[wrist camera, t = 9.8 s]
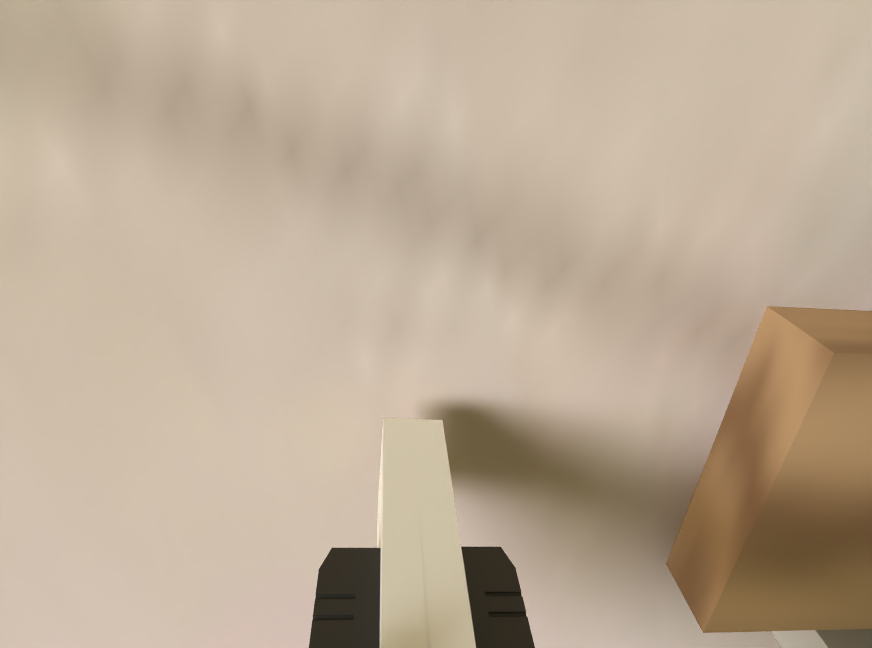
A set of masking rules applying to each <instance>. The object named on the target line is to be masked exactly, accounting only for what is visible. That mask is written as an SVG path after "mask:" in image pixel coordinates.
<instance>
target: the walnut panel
mask: <svg viewBox="0 0 872 648" xmlns="http://www.w3.org/2000/svg"><path fill="white" fill-rule="evenodd" d="M667 566H668V568H669V570H670V572H671V573H672V575H673V577H674V579H675V581H676V583H677V585H678V587H679V588H680V590H681V592H682V594H683V596H684V598H685V600H686V601H687V603H688V605H689V607H690V609H691V611H692V613H693V614H694V616H695V618H696V620H697V622H698V624H699V626H700V628H701V629H702V631H703V633H709V632H755V631H800V630H846V629H872V311H856V310H834V309H813V308H791V307H769V306H767V308H766V311H765V313H764V316H763V318H762V321H761V324H760V326H759V329H758V331H757V334H756V336H755V339H754V342H753V344H752V347H751V349H750V352H749V354H748V357H747V359H746V362H745V365H744V367H743V370H742V372H741V375H740V377H739V380H738V382H737V385H736V388H735V390H734V393H733V395H732V398H731V400H730V403H729V405H728V408H727V411H726V413H725V416H724V418H723V421H722V423H721V426H720V428H719V431H718V434H717V436H716V439H715V441H714V444H713V446H712V449H711V451H710V454H709V457H708V459H707V462H706V464H705V467H704V469H703V472H702V475H701V477H700V480H699V482H698V485H697V487H696V490H695V492H694V495H693V498H692V500H691V503H690V505H689V508H688V510H687V513H686V515H685V518H684V521H683V523H682V526H681V528H680V531H679V533H678V536H677V538H676V541H675V544H674V546H673V549H672V551H671V554H670V556H669V559H668V561H667Z"/></svg>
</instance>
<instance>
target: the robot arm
mask: <svg viewBox="0 0 872 648" xmlns="http://www.w3.org/2000/svg"><path fill="white" fill-rule="evenodd" d="M309 648H535V646H534V642H533V638H532V634H531V630H530V626H529V622H528V618H527V617H526V610H525V606H524V601H523V597H522V596H521V589H520V585H519V581H518V577H517V573H516V569H515V567H514V565H513V564H512V562H511V561H510V560H509V558H508V557H507V555H506V554H505V552H504V551H503V550H502V548H501V547H461V542H460V535H459V529H458V522H457V515H456V508H455V501H454V495H453V488H452V481H451V474H450V468H449V461H448V454H447V447H446V441H445V434H444V427H443V420H429V419H395V418H383V432H382V447H381V462H380V478H379V493H378V531H377V548H332V549H331V550H330V552H329V554H328V555H327V557H326V559H325V560H324V562H323V564H322V565H321V567H320V569H319V574H318V581H317V589H316V599H315V605H314V613H313V621H312V628H311V636H310V644H309Z"/></svg>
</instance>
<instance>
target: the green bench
mask: <svg viewBox="0 0 872 648" xmlns="http://www.w3.org/2000/svg"><path fill="white" fill-rule="evenodd" d="M771 632H772V634H773V635H774V637H775V638H776V640H777V642H778V643H779V645H780V646H781V648H872V629H846V630H800V631H771Z"/></svg>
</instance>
